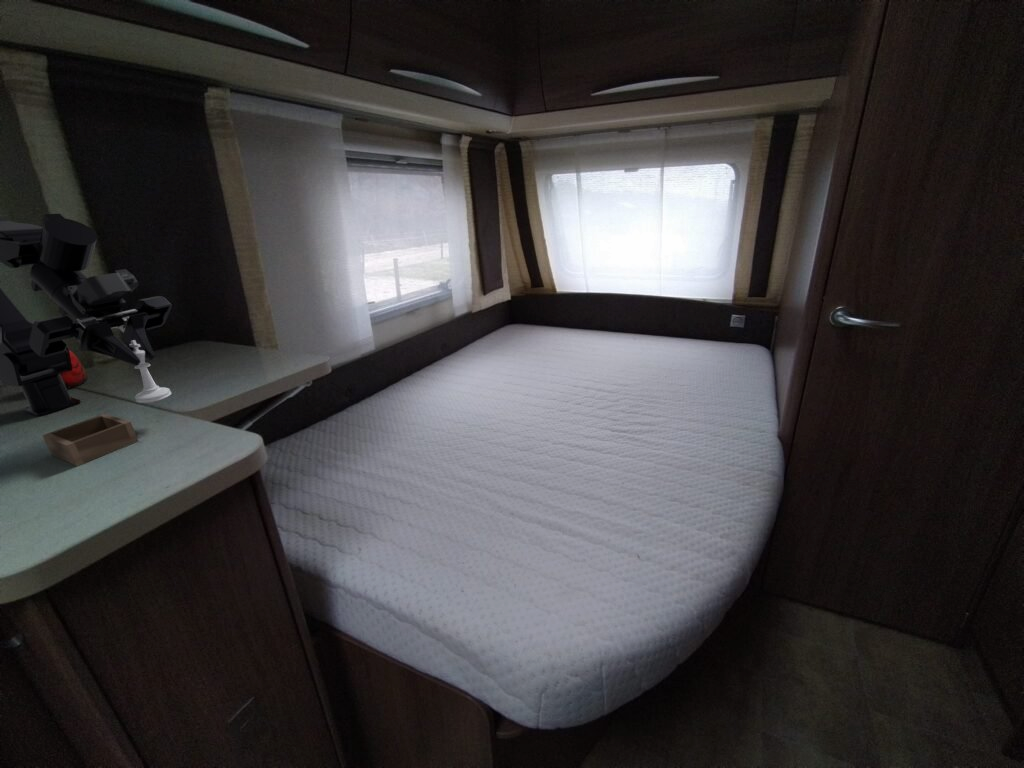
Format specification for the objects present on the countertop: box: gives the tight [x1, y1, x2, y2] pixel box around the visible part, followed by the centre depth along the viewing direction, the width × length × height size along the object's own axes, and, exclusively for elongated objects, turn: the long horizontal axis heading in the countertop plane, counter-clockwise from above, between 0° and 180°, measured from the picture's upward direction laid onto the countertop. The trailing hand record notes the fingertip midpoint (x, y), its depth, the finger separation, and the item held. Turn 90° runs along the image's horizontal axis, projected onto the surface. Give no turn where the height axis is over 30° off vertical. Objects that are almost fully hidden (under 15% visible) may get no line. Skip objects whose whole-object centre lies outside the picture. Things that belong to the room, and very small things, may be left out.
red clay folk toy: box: [54, 315, 88, 389], centre depth 95 cm, size 8×7×15 cm
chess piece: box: [128, 340, 172, 404], centre depth 74 cm, size 5×5×10 cm
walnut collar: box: [42, 413, 139, 467], centre depth 70 cm, size 8×8×4 cm
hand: (146, 361), depth 73 cm, fingers closed on chess piece
